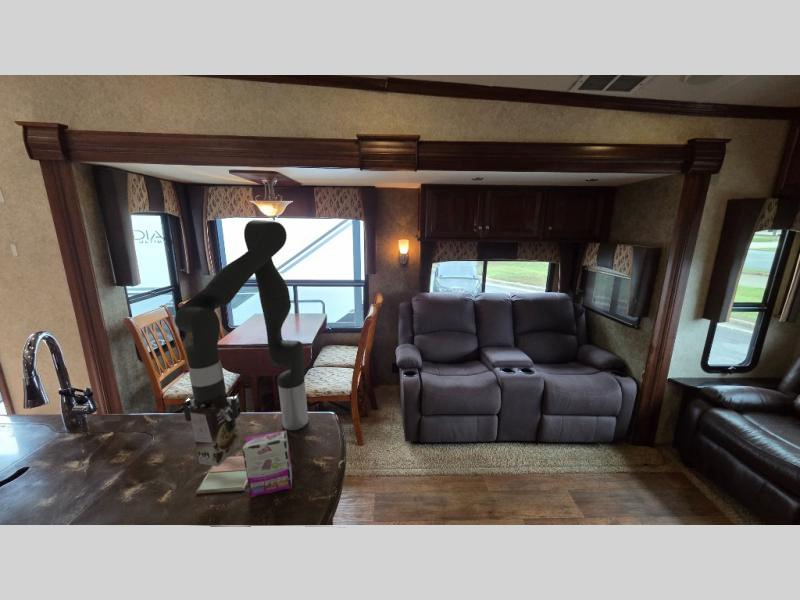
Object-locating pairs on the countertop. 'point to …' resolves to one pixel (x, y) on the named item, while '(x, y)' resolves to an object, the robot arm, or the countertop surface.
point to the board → (225, 477)
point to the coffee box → (213, 435)
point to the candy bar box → (267, 463)
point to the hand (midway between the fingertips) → (216, 431)
